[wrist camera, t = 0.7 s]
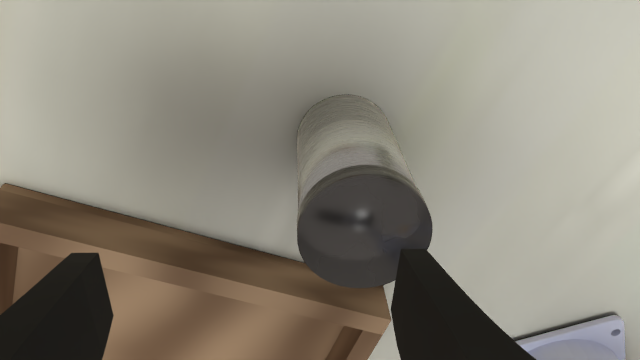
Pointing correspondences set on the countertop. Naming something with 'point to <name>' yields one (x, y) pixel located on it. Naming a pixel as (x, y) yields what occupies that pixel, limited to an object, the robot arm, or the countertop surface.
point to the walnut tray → (187, 288)
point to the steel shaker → (355, 195)
